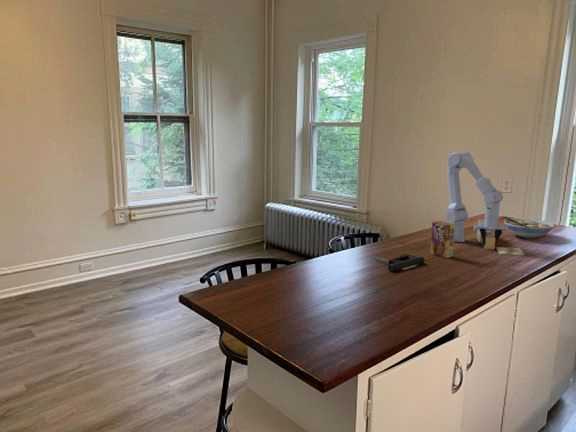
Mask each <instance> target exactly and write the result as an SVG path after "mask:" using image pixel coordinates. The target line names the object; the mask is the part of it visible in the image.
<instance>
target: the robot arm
mask: <svg viewBox="0 0 576 432" xmlns="http://www.w3.org/2000/svg"><path fill="white" fill-rule="evenodd" d="M462 169H466V170H467V171H468V172H469V174H471V176H472V177H473V179H474V180H476V184H475V185H476V186H477V188H478V190H479V191H480V192H481V194H482V195H483V201H484V203H485V205H484V206H485V212H484V220H485V222H484V225H478V224H474V225H473V230H474V231H475V230H478V229H479V230H480V233H481V236H482V240H483V243H482V245H483V246H484V245H485V238H486V230H494V235H493V236H494V237H495V247H497V243H498V240H499V238H500V237H501V235H502V234H503V232H509V229H508V226H506V225H499V216H500V215H499V213H500V204H501V202H502V201H503V193H502V191H501V190H498V189H497V188H496V187H495V186H494V185H493V184H492V182H491V181H492V180H491V178H488V177H485V176H484V175H483V174H482V172H481V170H480V169H479V167H478V165H477V163H476V162H475V158H474V157H473V156H472V154H471V153H470V152H469V151H462V152H457V151H456V152H452V153H450V155H449V156H448V157H447V166H446V178H447V184H448V185H447V186H448V187H447V188H448V195H449V205H448V207H447V208H446V215H445V217H446V220H447V222H451V223H455V229H454V242H457V243H459V242H460V243H465V242H466V241H465V238H464V229H465V223H466V220H467V219H468V217H469V214H468V211H467V209H466V206H465V204H464V203H463V201H462V190H461V181H460V171H461V170H462Z"/></svg>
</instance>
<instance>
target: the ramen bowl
mask: <svg viewBox="0 0 576 432" xmlns="http://www.w3.org/2000/svg"><path fill="white" fill-rule="evenodd" d="M501 218H502V219H504V221H503V222H504V226H508V231H510V232H511V233H513V234H515V235H516V236H519V237H521V238H524V239H535V238H537V237H543V236H545V235H547V234H548V233H550V231H552V230H553V228H554V226H555V224H554V223H552V222H549V221H546V220H541V219H540V220H539V219H532V218H510V217H508V216H501Z"/></svg>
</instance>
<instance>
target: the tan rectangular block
mask: <svg viewBox="0 0 576 432" xmlns="http://www.w3.org/2000/svg"><path fill="white" fill-rule="evenodd" d="M494 236H495V235H493V236H486V238H485V245H483V249H485V250H495V248H496V246H495V237H494Z"/></svg>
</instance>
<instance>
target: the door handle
mask: <svg viewBox="0 0 576 432" xmlns="http://www.w3.org/2000/svg"><path fill="white" fill-rule="evenodd" d="M375 262H378V263H380V264H383V265H387V270H388V271H389V272H398V271H401V270H402V271H405V270H408V269H410V268H414V267H417V266H419V265H422V264H424V263H425V258H424V256H415V255H410V254H403V253H402V254H401V255H400V256H399V257H397V258H393V259H386V258H382V257H376V258H375Z"/></svg>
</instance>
